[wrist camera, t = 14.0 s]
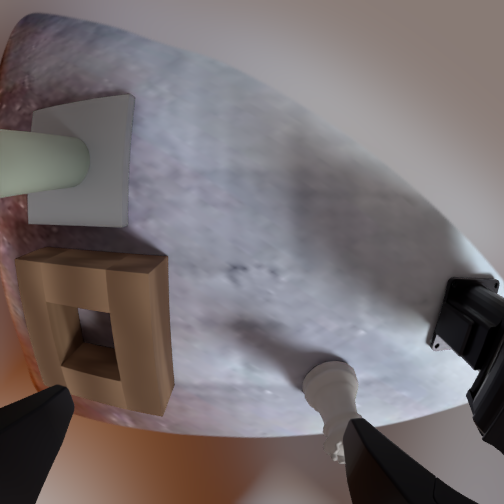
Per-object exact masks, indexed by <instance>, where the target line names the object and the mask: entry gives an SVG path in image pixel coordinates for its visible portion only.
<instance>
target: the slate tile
mask: <svg viewBox="0 0 504 504" xmlns="http://www.w3.org/2000/svg"><path fill="white" fill-rule="evenodd" d="M134 104H135V97H134V96H132V95H131V94H125V95H117V96H109V97H102V98H95V99H89V100H83V101H78V102H72V103H67V104H62V105H58V106H53V107H49V108H44V109H40V110H36V111H33V117H32V125H31V132H35V133H44V134H52V135H60V136H67V137H74V138H78V139H80V140H82V141H83V142H84V143H85V144H86V146H87V148H88V151H89V155H90V164H89V169H88V172H87V174H86V176H85V178H84V179H83V180H82V182H81V183H80V184H78V185H77V186H75V187H71V188H64V189H56V190H48V191H41V192H34V193H28V224H46V225H73V226H98V227H121V228H122V227H125V226H127V225H128V183H129V161H130V145H131V133H132V122H133V112H134Z"/></svg>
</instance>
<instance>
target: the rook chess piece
mask: <svg viewBox="0 0 504 504" xmlns="http://www.w3.org/2000/svg"><path fill="white" fill-rule="evenodd" d="M357 391H358V380H357V378H356V374H355V371H354V369H353V368H352V367H351V366H350V365H348V364H347V363H344V362H339V361H331V362H324V363H322V364H320V365H318V366H316V367H315V368H313V369H312V370H311V371H310V372H309V373H308V374H307V375H306V377H305V379H304V381H303V392H304V394H305V399H306V400H307V402H308V404H309V405H310V406H311V407H312V408H314V409H315V410H316V411H317V412H319V413H320V415H321V417H322V419H323V421H324V427H323V433H324V435H325V436H326V437H328V438H327V439H326V441H325V442H324V446H323V449H324V451H325V452H326V453H327V454H329V455H331V458H332V459H333V461H336V460H338V463H341V464H345V458H344V449H343V435H344V432H345V430H346V427H347V424H348V422H349V420H350V419H352V418H362V416H361V415H359V414H358V413H357V409H356V404H355V399H356V394H357Z"/></svg>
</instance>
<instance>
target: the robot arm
mask: <svg viewBox="0 0 504 504" xmlns="http://www.w3.org/2000/svg"><path fill="white" fill-rule="evenodd" d="M453 283H454V285H453ZM452 285H453V286H452ZM494 285H495V286H494ZM498 288H499V281H498V280H496V279H486V278H458V277H453V278H451V279H450V280H449V281H448V284H447V288H446V293H445V297H444V301H443V304H442V308H441V312H440V315H439V319H438V322H437V326H436V329H435V332H434V335H433V339H432V342H431V345H430V347H431V348H432V350H433V351H441V350H450V349H452V350H453V351H454V352H455V353H456V354H457V355H458V356H461V357H462V358H463V359H464V360H465V361H466V362H467V363H468V364H469V365H470V366H471V367H472V368H473V369H474V370H478V371H479V374H478V376H477V378H476V380H475V382H474V383H473V385H472V387H471V389H469V390H468V392H467V394H466V397H467V399H468V402H469V405H470V407H471V410H472V413H473V421H474V422H475V424H476V426H477V428H478V430H479V432H480V434H481V435H482V436H483V438H482V440H483V441H485V442H487V443H489V444H490V445H493V446H494V447H495V448H497V449H498V450H499V451H501V452H502V454H503V455H504V298H503V297H502V296H500V295H498V294H497V292H498ZM436 344H437V345H436ZM435 345H436V346H435ZM73 412H74V403H73V400H72V397H71V394H70V391H69V389H68V388H67V387H65V386H62V385H59V384H56V385H54V386H52V387H49V388H47V389H45V390H42V391H40V392H38V393H35V394H33V395H31V396H28V397H26V398H24V399H21V400H19V401H17V402H14V403H12V404H9V405H7V406H4V407H2V408H0V504H35V503H36V501H37V498H38V496H39V494H40V491H41V489H42V487H43V484H44V482H45V480H46V478H47V475H48V473H49V471H50V469H51V467H52V464H53V462H54V460H55V458H56V456H57V454H58V451H59V450H60V447H61V445H62V443H63V440H64V437H65V434H66V432H67V429H68V426H69V423H70V420H71V418H72V415H73ZM343 449H344V458H345V467H346V476H347V483H348V487H349V491H350V496H351V500H352V504H478V503H476V502H475V501H473V500H471V499H469V498H467V497H465V496H464V495H462V494H460V493H459V492H457V491H455V490H454V489H453V488H451V487H450V486H448V485H447V484H445V483H444V482H443V481H441V480H440V479H439V478H436V477H435V475H433V474H432V473H430V472H429V471H428V470H427V469H425V468H424V467H423V466H422V465H420V464H419V463H418V462H417V461H415V460H414V459H413V458H411V457H410V456H409V455H408V454H406V453H405V452H404V451H403V450H401V449H400V448H399V447H398V446H397V445H395V444H394V443H393V442H392V441H390V440H389V439H388V438H387V437H386V436H384V435H383V434H382V433H381V432H379V431H378V430H377V429H376V428H375V427H373V426H372V425H371V424H370V423H369V422H368V421H366V420H365V419H364V418H352V419H350V420H349V422H348V424H347V427H346V430H345V432H344V435H343Z"/></svg>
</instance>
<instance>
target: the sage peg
mask: <svg viewBox="0 0 504 504" xmlns="http://www.w3.org/2000/svg"><path fill="white" fill-rule="evenodd" d="M89 164H90V155H89V151H88V148H87V146H86V144H85V143H84V142H83V141H82V140H80V139H78V138H74V137H67V136H60V135H52V134H44V133H35V132H26V131H15V130H4V129H0V198H3V197H9V196H15V195H21V194H27V193H34V192H41V191H48V190H56V189H64V188H71V187H75V186H77V185H78V184H80V183H81V182H82V180H83V179H84V178H85V176H86V174H87V172H88V169H89Z"/></svg>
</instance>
